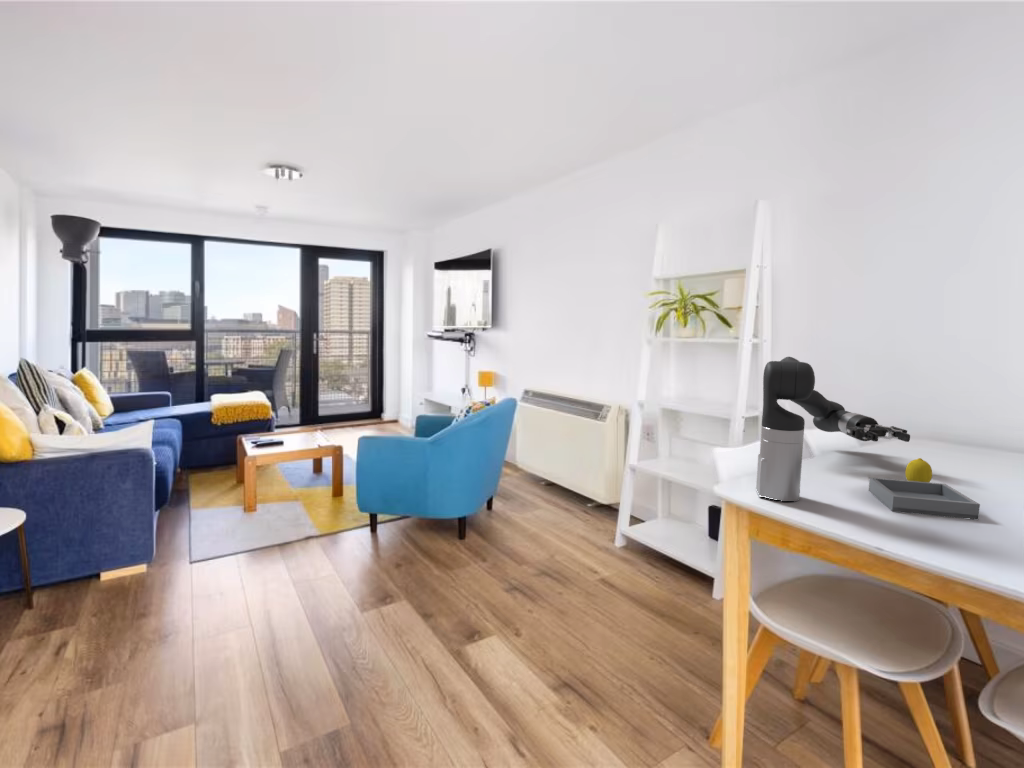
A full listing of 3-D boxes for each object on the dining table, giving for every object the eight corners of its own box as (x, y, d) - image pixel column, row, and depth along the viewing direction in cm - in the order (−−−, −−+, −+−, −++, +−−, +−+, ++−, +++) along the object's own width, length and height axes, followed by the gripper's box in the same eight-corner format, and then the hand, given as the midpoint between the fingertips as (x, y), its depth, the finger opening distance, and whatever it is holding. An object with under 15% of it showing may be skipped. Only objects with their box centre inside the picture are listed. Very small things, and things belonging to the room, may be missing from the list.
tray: (892, 511, 119) (893, 496, 119) (868, 490, 134) (869, 477, 134) (978, 519, 114) (979, 504, 114) (943, 497, 129) (945, 483, 129)
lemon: (935, 492, 134) (938, 461, 133) (910, 490, 135) (913, 460, 134) (923, 485, 139) (926, 456, 138) (899, 484, 140) (902, 455, 139)
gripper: (835, 414, 163) (867, 424, 147) (882, 414, 162) (920, 425, 146) (833, 437, 164) (865, 450, 148) (880, 438, 163) (917, 451, 147)
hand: (892, 438), depth 147 cm, fingers open, 8 cm apart
